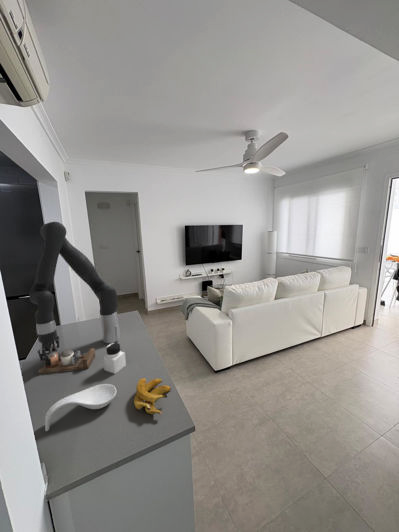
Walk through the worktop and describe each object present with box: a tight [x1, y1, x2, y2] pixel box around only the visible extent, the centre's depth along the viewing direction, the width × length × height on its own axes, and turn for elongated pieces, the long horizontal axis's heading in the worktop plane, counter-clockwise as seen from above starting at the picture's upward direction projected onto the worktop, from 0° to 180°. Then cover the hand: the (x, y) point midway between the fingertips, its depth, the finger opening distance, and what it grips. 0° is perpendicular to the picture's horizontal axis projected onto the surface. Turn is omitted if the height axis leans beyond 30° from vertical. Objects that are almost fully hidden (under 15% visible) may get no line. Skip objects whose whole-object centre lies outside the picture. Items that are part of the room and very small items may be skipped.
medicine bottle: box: [102, 342, 127, 375], centre depth 103 cm, size 7×7×12 cm
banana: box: [133, 377, 171, 416], centre depth 84 cm, size 15×19×6 cm
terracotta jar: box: [44, 351, 59, 368], centre depth 106 cm, size 6×6×6 cm
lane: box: [38, 347, 96, 374], centre depth 107 cm, size 22×10×5 cm, turn 97°
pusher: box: [72, 350, 81, 366], centre depth 107 cm, size 1×7×5 cm, turn 7°
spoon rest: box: [44, 383, 117, 432], centre depth 80 cm, size 24×12×7 cm, turn 128°
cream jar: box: [60, 349, 75, 367], centre depth 107 cm, size 6×6×6 cm
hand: (52, 361), depth 106 cm, fingers closed on terracotta jar, 5 cm apart
